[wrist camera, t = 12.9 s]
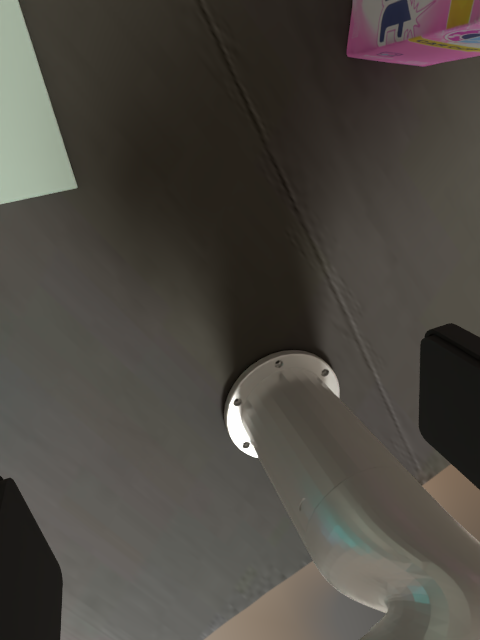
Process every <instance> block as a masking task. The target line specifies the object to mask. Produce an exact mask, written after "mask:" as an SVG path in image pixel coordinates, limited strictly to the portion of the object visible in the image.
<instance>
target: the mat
mask: <svg viewBox="0 0 480 640" xmlns="http://www.w3.org/2000/svg"><path fill="white" fill-rule="evenodd" d="M75 188H78V186H77V183H76V180H75V177H74V174H73V171H72V167H71V164H70V161H69V158H68V155H67V152H66V149H65V145H64V142H63V139H62V136H61V133H60V130H59V127H58V123H57V120H56V117H55V114H54V111H53V108H52V105H51V101H50V98H49V95H48V92H47V89H46V86H45V83H44V79H43V76H42V73H41V70H40V67H39V64H38V61H37V57H36V54H35V51H34V48H33V45H32V42H31V39H30V35H29V32H28V29H27V26H26V23H25V20H24V17H23V14H22V10H21V7H20V4H19V1H18V0H0V204H4V203H8V202H13V201H18V200H23V199H27V198H32V197H37V196H42V195H46V194H51V193H56V192H61V191H65V190H70V189H75Z"/></svg>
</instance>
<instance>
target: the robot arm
mask: <svg viewBox="0 0 480 640" xmlns="http://www.w3.org/2000/svg"><path fill="white" fill-rule="evenodd" d="M224 420H225V426H226V429H227V431H228V434H229V436H230V438H231V439H232V441H233V443H234V444H235V445H236V446H237V447H238V448H239V449H240V450H241V451H243V452H244V453H246V454H248V455H251V456H253V457H257V458H259V460H260V462H261V464H262V465H263V467H264V469H265V471H266V473H267V475H268V477H269V479H270V481H271V482H272V484H273V486H274V488H275V490H276V492H277V494H278V496H279V498H280V499H281V501H282V503H283V505H284V507H285V509H286V511H287V513H288V514H289V516H290V518H291V520H292V522H293V524H294V526H295V528H296V530H297V531H298V533H299V535H300V537H301V539H302V541H303V543H304V545H305V547H306V548H307V550H308V552H309V554H310V556H311V558H312V559H313V561H314V563H315V565H316V566H317V568H318V570H319V571H320V573H321V574H322V575H323V576H324V578H325V579H326V580H327V581H328V582H329V583H330V584H331V585H332V586H333V587H334V588H336V589H337V590H338V591H339V592H341V593H342V594H344V595H346V596H348V597H349V598H351V599H353V600H355V601H357V602H359V603H361V604H364V605H366V606H369V607H371V608H374V609H377V610H379V611H382V612H385V613H386V615H385V616H384V617H383V618H382V619H381V620H380V621H379V622H378V623H377V624H376V625H374V626H373V627H372V628H371V629H370V630H369V632H368V633H367V634H366V635H365V636H363V637H362V638H361V639H360V640H480V542H479V541H478V540H477V539H476V538H474V537H473V536H472V535H471V534H470V533H469V532H467V531H466V530H465V529H464V528H463V527H462V526H461V525H460V524H459V523H458V522H457V521H456V520H455V519H454V518H453V517H452V516H451V515H450V514H449V513H448V512H447V511H446V510H445V509H444V508H443V507H442V506H441V505H440V504H439V503H438V502H437V501H436V500H435V499H434V498H433V497H432V496H431V495H430V494H429V493H428V492H427V491H426V490H425V489H424V488H423V487H422V486H421V485H420V484H419V482H418V481H417V480H416V479H415V478H414V477H413V476H412V475H411V474H410V473H409V472H408V471H407V470H406V469H405V468H404V467H403V466H402V465H401V464H400V462H399V461H398V460H397V459H396V458H395V457H394V456H393V455H392V454H391V453H390V452H389V451H388V450H387V449H386V447H385V446H384V445H383V444H382V443H381V442H380V441H379V440H378V439H377V438H376V437H375V436H374V435H373V434H372V433H371V432H370V431H369V430H368V428H367V427H366V426H365V425H364V424H363V423H362V422H361V421H360V420H359V419H358V418H357V417H356V416H355V415H354V414H353V413H352V412H351V411H350V409H349V408H348V407H347V406H346V405H345V404H344V403H343V402H342V401H341V400H340V388H339V383H338V379H337V377H336V375H335V373H334V371H333V370H332V369H331V367H330V366H329V365H328V364H327V363H326V362H325V361H324V360H323V359H321V358H320V357H318V356H316V355H315V354H312V353H309V352H306V351H300V350H287V351H281V352H277V353H273V354H270V355H268V356H266V357H264V358H262V359H260V360H258V361H257V362H255V363H254V364H252V365H251V366H250V367H249V368H248V369H246V370H245V371H244V372H243V373H242V374H241V375H240V377H239V378H238V379H237V380H236V382H235V383H234V384H233V386H232V388H231V390H230V392H229V394H228V397H227V400H226V403H225V409H224ZM419 429H420V432H421V434H422V436H423V438H424V439H425V440H426V441H427V442H428V443H429V444H430V445H431V446H432V447H434V448H435V449H436V450H437V451H438V452H439V453H440V454H441V455H442V456H443V457H444V458H446V459H447V460H448V461H449V462H450V463H451V464H452V465H453V466H454V467H456V468H457V469H458V470H459V471H460V472H461V473H462V474H463V475H464V476H465V477H466V478H467V479H469V480H470V481H471V482H472V483H473V484H474V485H475V486H476V487H477V488H478V489H480V337H478V336H476V335H474V334H472V333H470V332H469V331H467V330H465V329H463V328H461V327H459V326H457V325H455V324H452V323H451V324H446V325H443V326H440V327H437V328H434V329H431V330H429V331H427V332H426V334H425V338H424V339H422V341H421V348H420V393H419ZM62 586H63V581H62V573H61V569H60V566H59V564H58V562H57V560H56V558H55V556H54V554H53V552H52V551H51V549H50V547H49V545H48V543H47V541H46V539H45V538H44V536H43V534H42V532H41V530H40V528H39V526H38V524H37V523H36V521H35V519H34V517H33V515H32V513H31V511H30V510H29V508H28V506H27V504H26V502H25V500H24V498H23V497H22V495H21V493H20V491H19V489H18V487H17V485H16V483H15V482H14V480H13V479H12V478H7V479H4V480H3V478H2V477H1V476H0V640H60V631H61V609H62Z"/></svg>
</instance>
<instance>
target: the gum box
mask: <svg viewBox="0 0 480 640" xmlns="http://www.w3.org/2000/svg"><path fill="white" fill-rule="evenodd" d="M347 56H348V57H352V58H359V59H366V60H373V61H380V62H388V63H398V64H407V65H415V66H423V67H425V66H429V65H434V64H438V63H443V62H448V61H454V60H459V59H465V58H470V57H476V56H480V0H353V4H352V14H351V21H350V28H349V36H348V43H347Z"/></svg>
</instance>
